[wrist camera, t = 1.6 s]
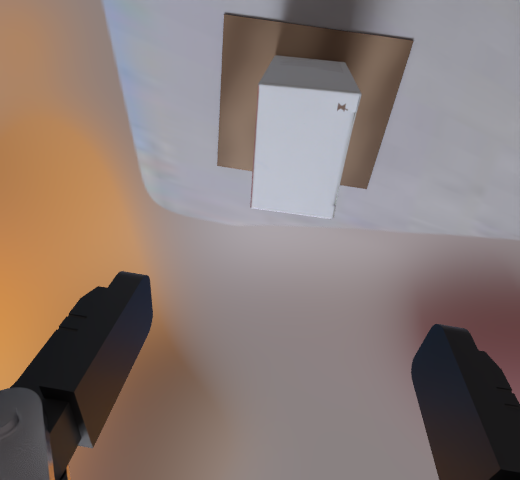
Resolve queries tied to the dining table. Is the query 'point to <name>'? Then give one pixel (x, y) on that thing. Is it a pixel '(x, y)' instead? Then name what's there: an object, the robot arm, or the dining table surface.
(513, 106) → the dining table surface
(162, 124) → the dining table surface
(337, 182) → the small box
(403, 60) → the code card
